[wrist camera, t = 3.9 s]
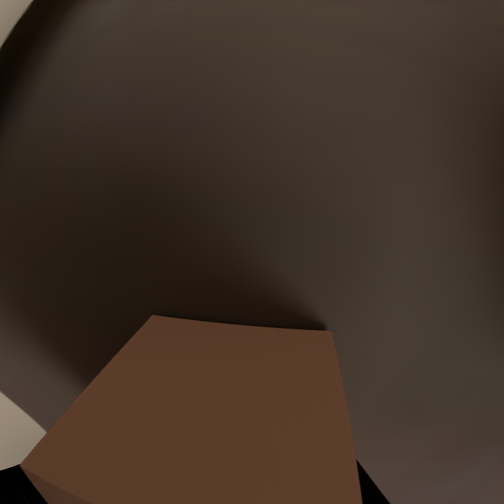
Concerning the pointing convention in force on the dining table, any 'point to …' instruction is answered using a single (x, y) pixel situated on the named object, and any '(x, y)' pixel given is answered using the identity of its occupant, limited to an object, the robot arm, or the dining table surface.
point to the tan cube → (205, 422)
